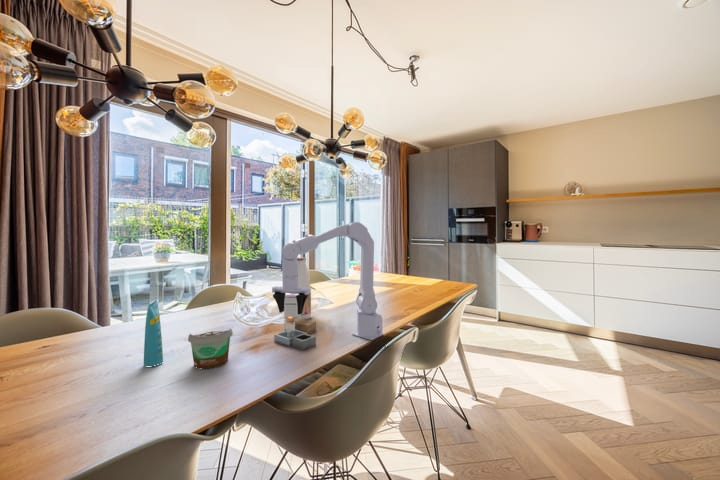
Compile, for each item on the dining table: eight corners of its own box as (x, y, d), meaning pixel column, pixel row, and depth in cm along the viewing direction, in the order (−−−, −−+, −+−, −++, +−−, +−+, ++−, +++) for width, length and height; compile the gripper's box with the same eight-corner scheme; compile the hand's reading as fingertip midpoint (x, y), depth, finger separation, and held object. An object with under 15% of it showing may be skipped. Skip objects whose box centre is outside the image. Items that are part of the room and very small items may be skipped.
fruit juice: (295, 321, 133) (294, 259, 132) (287, 316, 140) (287, 257, 140) (314, 318, 138) (314, 258, 137) (306, 313, 146) (305, 256, 145)
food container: (187, 374, 84) (186, 339, 83) (188, 366, 89) (187, 333, 89) (234, 365, 89) (234, 332, 89) (233, 358, 95) (232, 326, 94)
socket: (315, 345, 106) (315, 336, 105) (303, 350, 101) (302, 341, 101) (304, 341, 109) (304, 333, 109) (291, 346, 104) (291, 337, 104)
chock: (316, 331, 121) (316, 321, 121) (307, 335, 116) (307, 325, 116) (302, 328, 124) (302, 319, 124) (293, 332, 119) (292, 322, 119)
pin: (296, 339, 110) (296, 317, 109) (288, 341, 108) (288, 319, 108) (292, 336, 112) (292, 315, 112) (285, 338, 110) (285, 317, 110)
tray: (307, 339, 111) (307, 333, 111) (289, 346, 104) (289, 339, 104) (292, 334, 116) (292, 328, 116) (274, 341, 109) (274, 334, 109)
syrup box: (298, 330, 122) (297, 294, 121) (283, 329, 122) (283, 294, 121) (301, 325, 127) (301, 292, 127) (287, 325, 128) (287, 291, 127)
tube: (161, 367, 88) (159, 303, 87) (141, 371, 86) (139, 304, 85) (164, 358, 95) (163, 298, 94) (146, 360, 93) (145, 299, 92)
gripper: (313, 275, 111) (313, 311, 111) (279, 273, 115) (279, 308, 116) (304, 278, 104) (304, 316, 105) (268, 276, 108) (268, 313, 109)
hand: (290, 312), depth 110 cm, fingers open, 7 cm apart
